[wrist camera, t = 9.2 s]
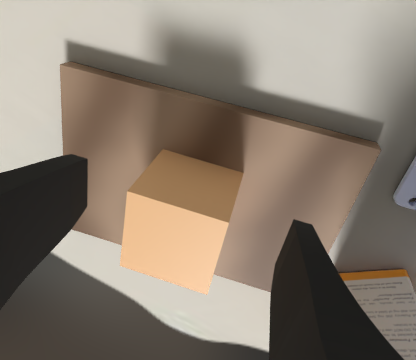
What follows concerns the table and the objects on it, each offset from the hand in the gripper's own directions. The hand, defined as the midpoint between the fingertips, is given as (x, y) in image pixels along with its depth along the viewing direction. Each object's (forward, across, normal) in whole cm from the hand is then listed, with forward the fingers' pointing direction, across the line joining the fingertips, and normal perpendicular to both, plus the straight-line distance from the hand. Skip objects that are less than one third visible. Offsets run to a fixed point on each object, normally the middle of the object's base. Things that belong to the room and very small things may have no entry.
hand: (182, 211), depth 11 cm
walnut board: (+9, +1, +5) cm, 11 cm away
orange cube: (+8, +1, +5) cm, 10 cm away
